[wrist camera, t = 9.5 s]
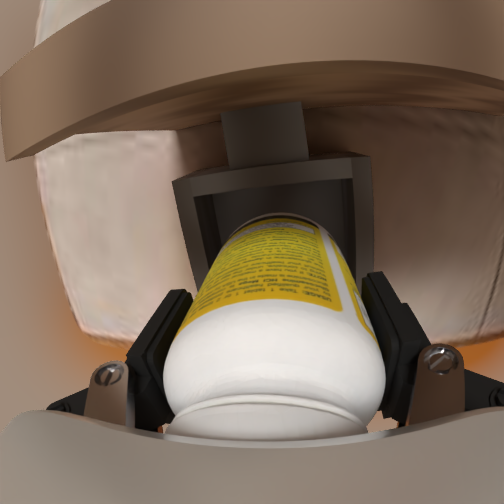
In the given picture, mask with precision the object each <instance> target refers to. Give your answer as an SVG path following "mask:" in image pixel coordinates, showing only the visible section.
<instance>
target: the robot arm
mask: <svg viewBox="0 0 504 504" xmlns="http://www.w3.org/2000/svg"><path fill="white" fill-rule="evenodd" d="M361 299H362V301H363V304H364V307H365V309H366V312H367V315H368V317H369V320H370V322H371V325H372V327H373V331H374V333H375V336H376V339H377V342H378V344H379V348H380V351H381V354H382V358H383V362H384V366H385V375H386V382H385V390H384V394H383V398H382V401H381V404H380V406H379V408H378V410H377V411H380V410H382V414H383V418H384V419H385V418H390V417H392V419H394V420H396V421H398V423H397V427H396V428H395V429H390V430H384V431H379V432H373V433H367V434H361V435H354V436H346V437H338V438H328V439H317V440H301V441H230V440H215V439H203V438H194V437H185V436H177V435H170V434H163V427H162V425H164V424H165V423H167V424H171V422H172V421H173V419H174V418H175V414H174V413H173V411H172V409H171V407H170V405H169V403H168V401H167V397H166V394H165V390H164V383H163V372H164V366H165V361H166V358H167V355H168V352H169V349H170V346H171V344H172V342H173V340H174V338H175V336H176V334H177V332H178V330H179V328H180V326H181V324H182V323H183V321H184V319H185V317H186V315H187V313H188V311H189V309H190V307H191V305H192V303H193V298H192V295H191V293H190V292H187V291H186V290H185V289H176V290H170V291H169V293H168V294H167V295H166V297H165V298H164V300H163V301H162V303H161V304H160V305H159V307H158V308H157V310H156V311H155V313H154V314H153V316H152V317H151V319H150V320H149V321H148V323H147V324H146V326H145V327H144V329H143V330H142V332H141V333H140V335H139V336H138V338H137V339H136V341H135V342H134V344H133V345H132V347H131V348H130V350H129V351H128V353H127V354H126V356H127V360H126V361H125V363H123V362H122V361H110V362H107V363H104V364H102V365H100V366H99V367H98V368H97V369H96V370H95V371H94V372H93V374H92V376H91V379H90V384H89V387H88V388H86V389H84V390H82V391H79V392H77V393H75V394H72V395H70V396H68V397H65V398H63V399H61V400H58V401H56V402H54V403H52V404H50V405H49V406H48V407H47V409H46V410H33V411H27V412H24V413H21V414H19V415H17V416H16V417H15V418H14V419H12V420H11V422H10V423H9V424H8V425H7V426H6V427H5V429H4V430H3V431H2V432H1V434H0V504H504V383H502V382H499V381H497V380H494V379H491V378H488V377H485V376H483V375H480V374H477V373H474V372H472V371H469V370H466V369H464V361H463V357H462V355H461V354H460V352H459V351H458V350H457V349H455V348H454V347H452V346H449V345H446V344H433V345H431V343H430V341H429V340H428V338H427V336H426V334H425V332H424V331H423V329H422V327H421V325H420V324H419V322H418V320H417V318H416V317H415V315H414V313H413V312H412V310H411V308H410V307H409V305H408V304H407V303H401V302H400V300H399V298H398V297H397V295H396V293H395V292H394V290H393V288H392V287H391V285H390V283H389V282H388V280H387V278H386V277H385V275H384V274H383V272H382V271H381V272H372V273H367V276H366V277H363V278H362V286H361Z"/></svg>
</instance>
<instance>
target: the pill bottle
mask: <svg viewBox="0 0 504 504" xmlns="http://www.w3.org/2000/svg"><path fill="white" fill-rule="evenodd" d="M385 382H386V375H385V366H384V362H383V358H382V354H381V351H380V348H379V344H378V342H377V339H376V336H375V333H374V331H373V327H372V325H371V322H370V320H369V317H368V315H367V312H366V309H365V307H364V304H363V301H362V299H361V296H360V294H359V291H358V289H357V286H356V284H355V281H354V279H353V277H352V275H351V272H350V270H349V267H348V265H347V263H346V261H345V259H344V257H343V254H342V252H341V250H340V248H339V246H338V245H337V243H336V241H335V240H334V239H333V237H332V236H331V235H330V234H329V232H328V231H326V230H325V229H324V228H323V227H322V226H320V225H319V224H318V223H316V222H314V221H313V220H311V219H309V218H306V217H304V216H301V215H297V214H293V213H270V214H265V215H261V216H258V217H256V218H253V219H251V220H249V221H247V222H246V223H244V224H243V225H241V226H240V227H239V228H238V229H236V230H235V231H234V232H233V233H232V234H231V235H230V237H229V238H228V239H227V241H226V242H225V243H224V245H223V247H222V248H221V250H220V252H219V254H218V256H217V258H216V259H215V261H214V263H213V265H212V267H211V269H210V271H209V273H208V274H207V276H206V278H205V280H204V282H203V284H202V286H201V288H200V290H199V292H198V294H197V295H196V297H195V299H194V301H193V303H192V305H191V307H190V309H189V311H188V313H187V315H186V317H185V319H184V321H183V323H182V324H181V326H180V328H179V330H178V332H177V334H176V336H175V338H174V340H173V342H172V344H171V346H170V349H169V352H168V355H167V358H166V361H165V366H164V372H163V383H164V390H165V394H166V397H167V401H168V403H169V405H170V407H171V409H172V411H173V413H174V414H175V418H174V419H173V421H172V422H171V424H170V425H169V426H168V427H167V429H166V432H165V434H170V435H177V436H185V437H194V438H203V439H215V440H230V441H301V440H317V439H328V438H338V437H346V436H354V435H361V434H367V433H368V430H367V428H366V426H367V425H368V423H369V422H370V421H371V420H372V418H373V417H374V415H375V414H376V412H377V410H378V408H379V406H380V404H381V401H382V398H383V394H384V390H385Z"/></svg>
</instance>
